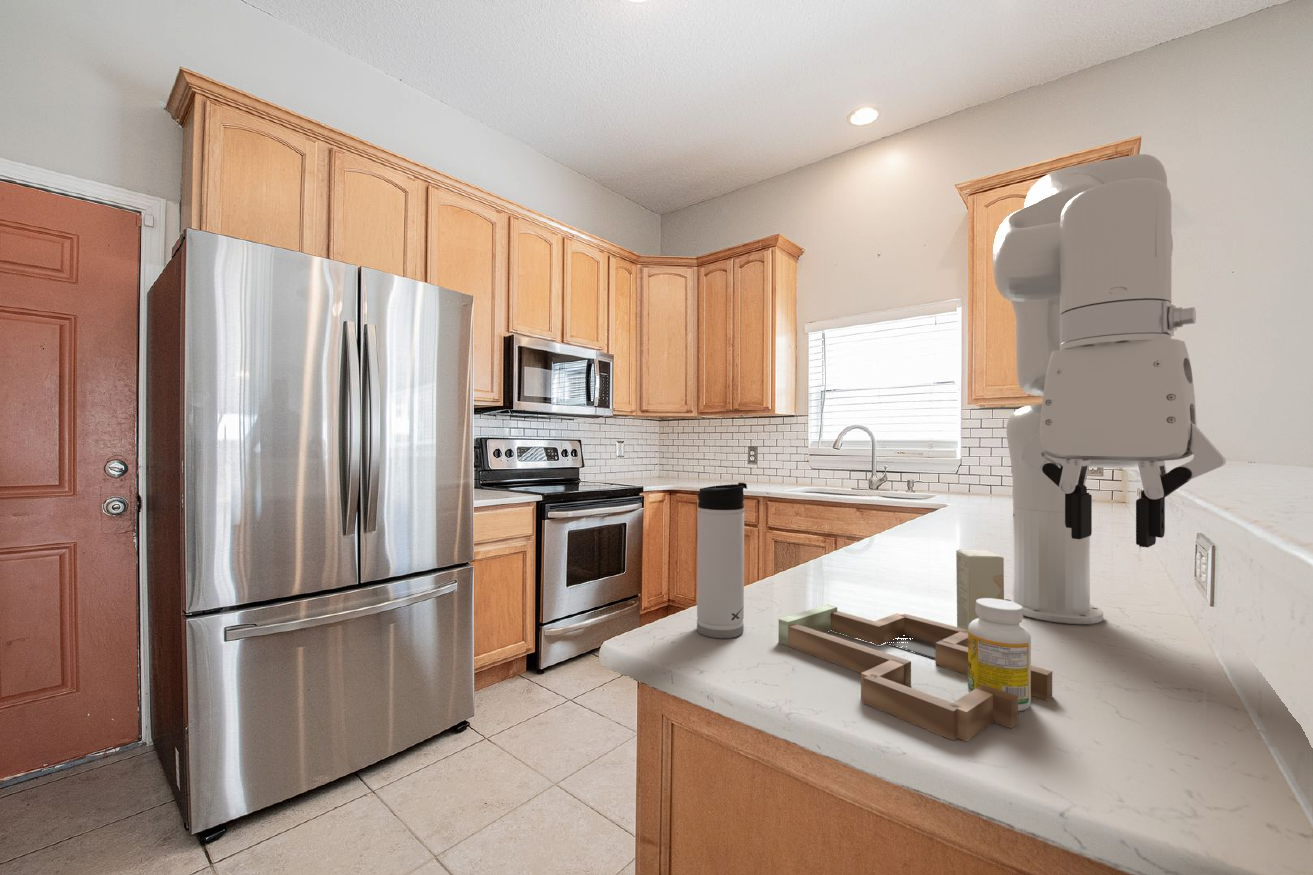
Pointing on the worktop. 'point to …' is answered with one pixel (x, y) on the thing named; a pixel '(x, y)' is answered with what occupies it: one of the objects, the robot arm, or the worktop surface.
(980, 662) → the supplement bottle
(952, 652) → the box
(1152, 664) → the worktop surface
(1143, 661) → the worktop surface
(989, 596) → the box
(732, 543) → the travel mug
